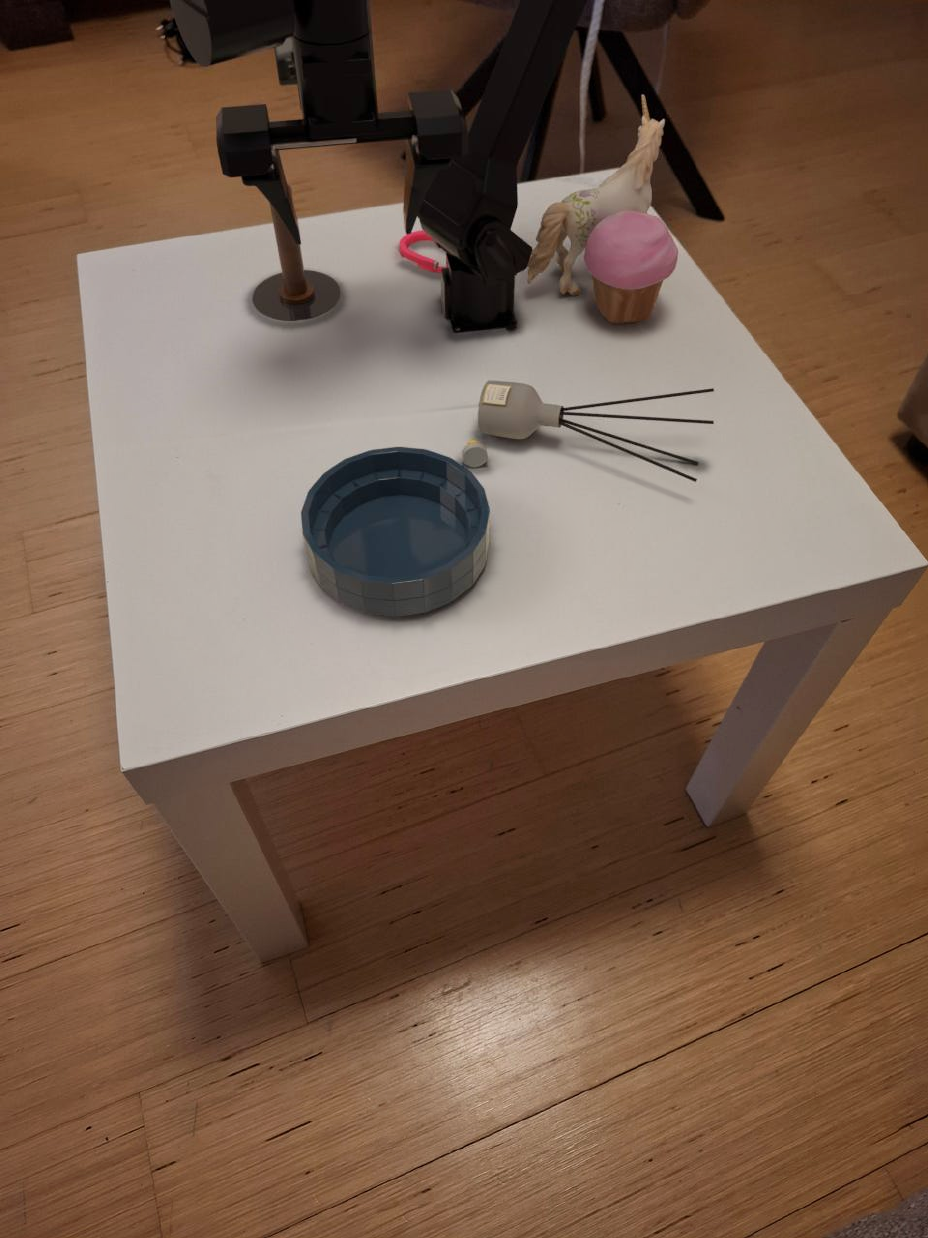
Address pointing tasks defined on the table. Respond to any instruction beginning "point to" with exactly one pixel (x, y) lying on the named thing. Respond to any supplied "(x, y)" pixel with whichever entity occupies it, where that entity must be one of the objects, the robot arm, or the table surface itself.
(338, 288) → the coaster
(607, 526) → the table surface
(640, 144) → the unicorn figurine
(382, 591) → the bowl
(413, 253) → the fitness band
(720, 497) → the table surface
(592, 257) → the cupcake
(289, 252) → the brown collared rod
